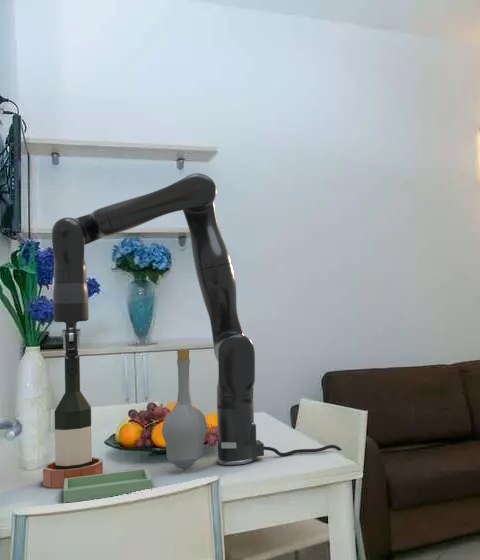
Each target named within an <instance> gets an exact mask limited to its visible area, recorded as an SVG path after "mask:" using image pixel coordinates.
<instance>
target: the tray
mask: <svg viewBox="0 0 480 560" xmlns="http://www.w3.org/2000/svg"><path fill="white" fill-rule="evenodd" d="M150 488H151V489H152V479H151V476H150V473H149V470H148V468H146V467H145V468H138V469H130V470H123V471H113V472H105V473H103V474H97V475H89V476H81V477H73V478H65V481H64V488H63V491H62V492H63V494H62V495H63V504H67V503H66V502H70V503H77V502H84V501H91V500H97V499H104V498H111V497H110V496H113V497H116V496H115V495H120V496H122V495H121V494H126V493H132V492H136V491H141V490H145V489H150Z"/></svg>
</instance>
